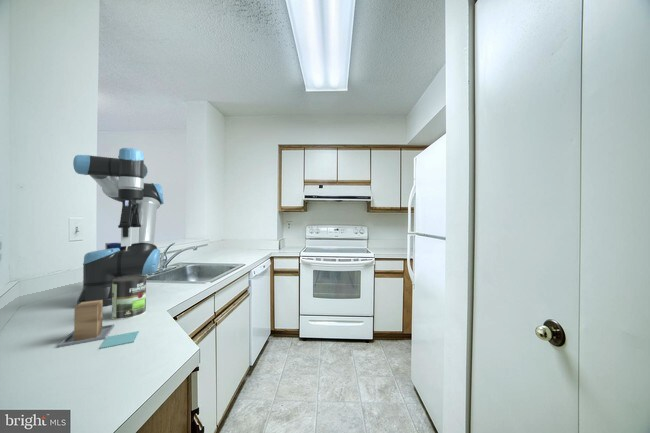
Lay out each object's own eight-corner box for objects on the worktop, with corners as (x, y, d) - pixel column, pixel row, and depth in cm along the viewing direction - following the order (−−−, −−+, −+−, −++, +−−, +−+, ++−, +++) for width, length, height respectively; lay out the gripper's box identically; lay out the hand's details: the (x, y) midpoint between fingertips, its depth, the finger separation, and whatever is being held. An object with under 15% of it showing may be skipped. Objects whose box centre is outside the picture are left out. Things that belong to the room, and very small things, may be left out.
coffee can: (152, 311, 96) (153, 275, 96) (126, 321, 85) (127, 281, 86) (131, 309, 98) (132, 274, 98) (103, 319, 87) (104, 280, 88)
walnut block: (80, 334, 75) (81, 302, 75) (102, 330, 78) (102, 299, 78) (74, 341, 71) (74, 307, 71) (96, 337, 73) (97, 304, 73)
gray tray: (73, 334, 76) (73, 330, 76) (114, 327, 81) (114, 324, 81) (57, 348, 67) (57, 344, 67) (104, 340, 72) (104, 336, 72)
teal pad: (107, 338, 73) (107, 336, 73) (138, 332, 77) (138, 331, 77) (99, 350, 66) (99, 347, 67) (133, 343, 70) (133, 341, 70)
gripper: (126, 192, 102) (125, 242, 101) (108, 184, 80) (107, 248, 79) (148, 193, 105) (147, 241, 105) (136, 185, 83) (135, 247, 83)
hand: (130, 244), depth 92 cm, fingers open, 13 cm apart
